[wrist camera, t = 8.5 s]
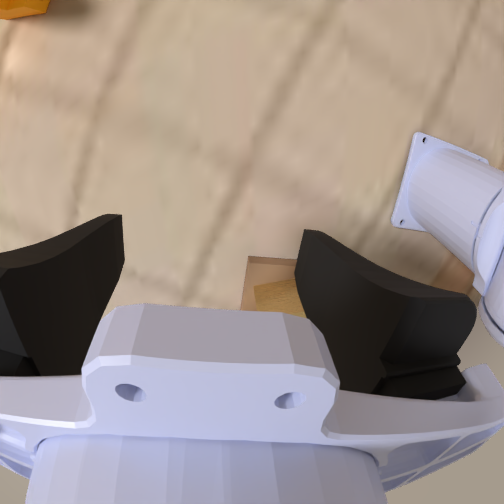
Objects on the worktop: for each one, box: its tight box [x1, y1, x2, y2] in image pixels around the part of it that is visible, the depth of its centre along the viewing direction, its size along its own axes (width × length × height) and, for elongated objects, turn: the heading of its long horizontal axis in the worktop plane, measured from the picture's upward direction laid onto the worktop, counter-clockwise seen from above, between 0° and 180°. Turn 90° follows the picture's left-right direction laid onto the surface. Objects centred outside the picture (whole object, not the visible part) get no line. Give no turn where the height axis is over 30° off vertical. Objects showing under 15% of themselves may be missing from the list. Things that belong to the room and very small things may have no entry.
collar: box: [253, 278, 306, 318], centre depth 23 cm, size 6×6×4 cm
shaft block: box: [240, 256, 297, 311], centre depth 24 cm, size 8×8×4 cm
